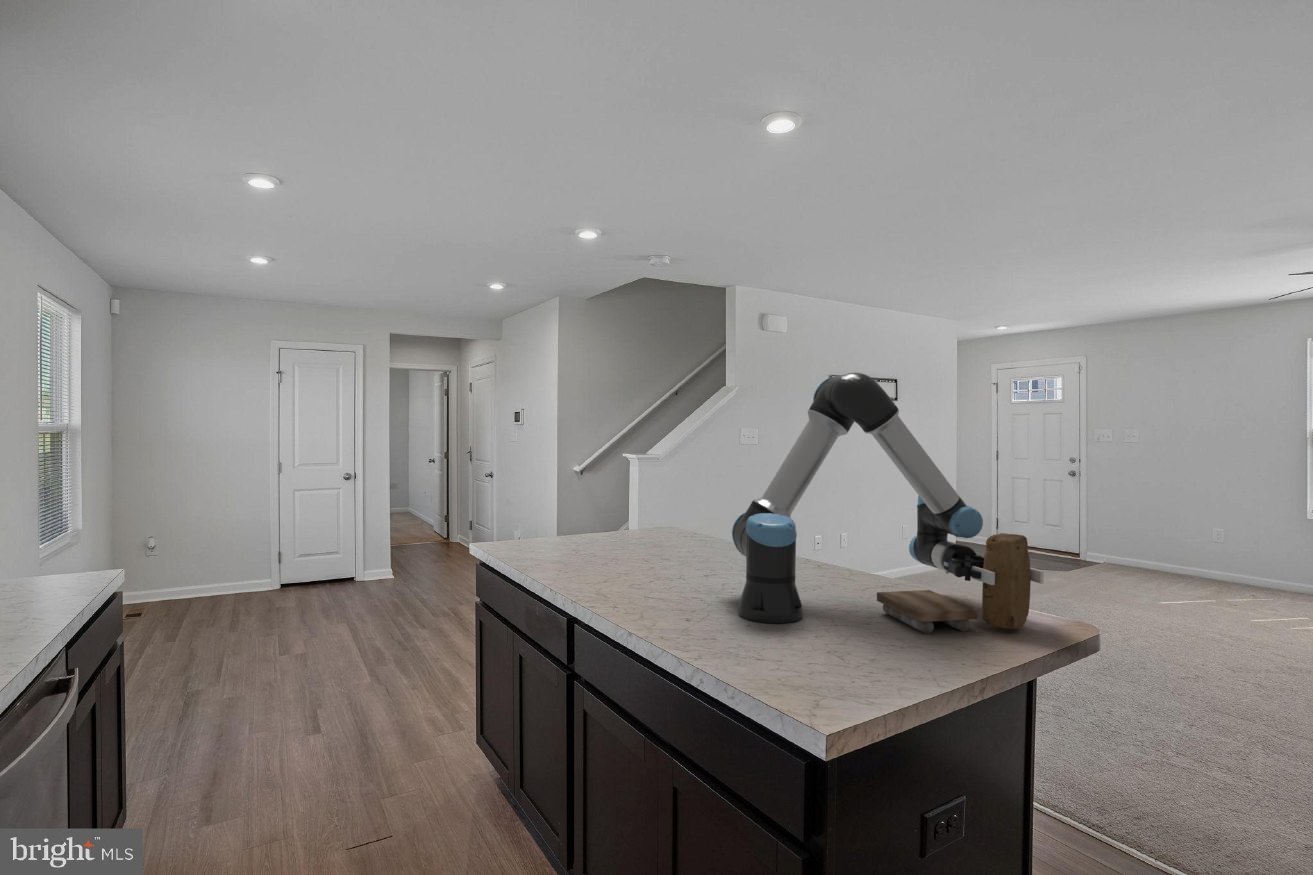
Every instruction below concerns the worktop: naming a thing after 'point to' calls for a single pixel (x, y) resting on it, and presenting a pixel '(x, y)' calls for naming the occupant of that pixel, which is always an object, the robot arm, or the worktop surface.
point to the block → (1007, 581)
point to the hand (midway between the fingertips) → (1017, 578)
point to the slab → (926, 609)
